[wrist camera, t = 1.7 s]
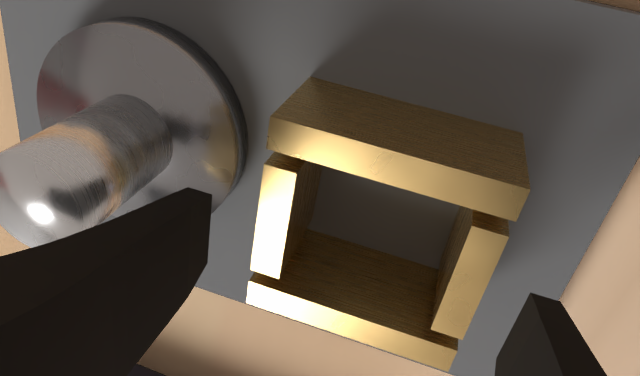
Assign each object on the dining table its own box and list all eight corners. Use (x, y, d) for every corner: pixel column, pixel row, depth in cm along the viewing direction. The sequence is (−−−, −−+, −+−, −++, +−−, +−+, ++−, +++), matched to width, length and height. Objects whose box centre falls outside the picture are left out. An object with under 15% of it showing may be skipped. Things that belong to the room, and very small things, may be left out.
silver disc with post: (259, 47, 14) (157, 113, 10) (238, 237, 17) (156, 347, 13) (49, -7, 15) (-126, 31, 11) (69, 182, 18) (-58, 268, 14)
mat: (701, 25, 11) (709, 30, 11) (505, 381, 18) (506, 393, 17) (-6, -133, 14) (-21, -134, 14) (43, 224, 20) (34, 231, 20)
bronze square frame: (522, 132, 13) (530, 189, 10) (454, 296, 16) (448, 372, 13) (310, 76, 14) (270, 116, 11) (282, 241, 17) (245, 302, 14)
